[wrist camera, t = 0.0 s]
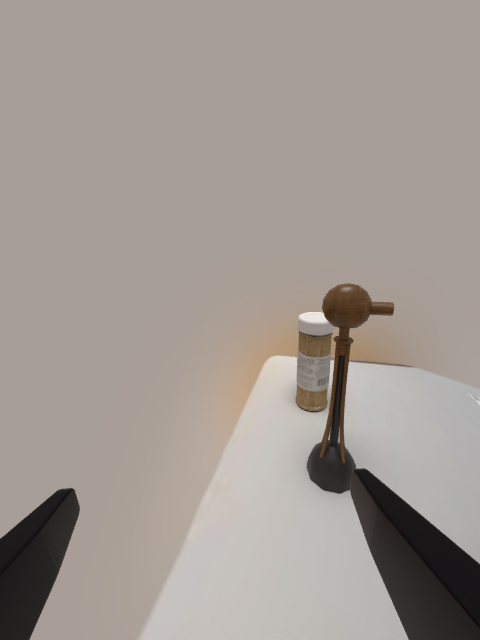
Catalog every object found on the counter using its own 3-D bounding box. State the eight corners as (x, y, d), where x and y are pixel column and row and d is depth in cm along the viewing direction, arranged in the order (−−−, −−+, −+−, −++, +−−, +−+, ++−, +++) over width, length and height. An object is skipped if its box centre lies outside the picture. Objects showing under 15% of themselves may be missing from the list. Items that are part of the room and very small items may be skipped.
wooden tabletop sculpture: (362, 461, 30) (389, 279, 23) (370, 499, 25) (404, 290, 19) (307, 451, 31) (318, 278, 25) (305, 486, 27) (317, 288, 21)
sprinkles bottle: (316, 391, 42) (321, 309, 38) (333, 409, 38) (342, 318, 34) (289, 397, 41) (292, 313, 37) (304, 416, 37) (309, 323, 33)
